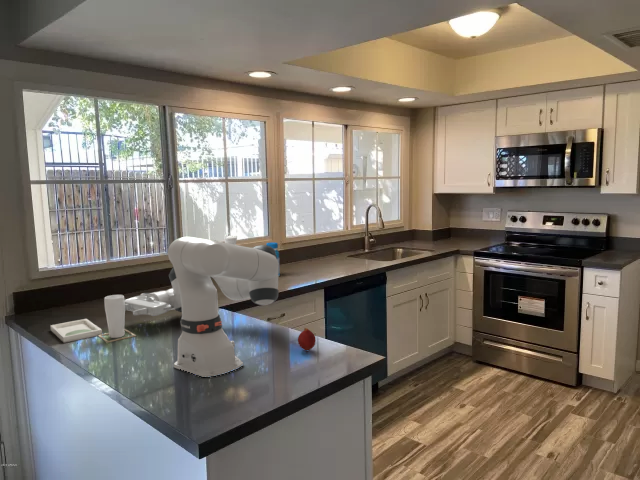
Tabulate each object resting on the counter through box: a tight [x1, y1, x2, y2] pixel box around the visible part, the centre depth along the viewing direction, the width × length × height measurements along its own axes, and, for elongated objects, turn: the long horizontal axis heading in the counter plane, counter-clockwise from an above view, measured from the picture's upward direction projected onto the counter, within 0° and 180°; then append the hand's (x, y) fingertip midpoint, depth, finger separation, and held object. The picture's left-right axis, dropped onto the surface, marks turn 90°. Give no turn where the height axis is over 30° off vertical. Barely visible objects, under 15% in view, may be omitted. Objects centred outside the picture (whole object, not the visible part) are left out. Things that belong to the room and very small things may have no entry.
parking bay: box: [98, 328, 137, 344], centre depth 175 cm, size 10×10×1 cm
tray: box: [50, 318, 103, 344], centre depth 181 cm, size 20×13×2 cm, turn 41°
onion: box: [297, 327, 317, 351], centre depth 156 cm, size 6×6×8 cm
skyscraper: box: [223, 232, 238, 245], centre depth 265 cm, size 8×8×28 cm
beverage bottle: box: [265, 242, 281, 277], centre depth 282 cm, size 8×8×20 cm
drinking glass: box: [103, 294, 126, 339], centre depth 174 cm, size 7×7×15 cm
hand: (126, 311), depth 178 cm, fingers open, 8 cm apart
